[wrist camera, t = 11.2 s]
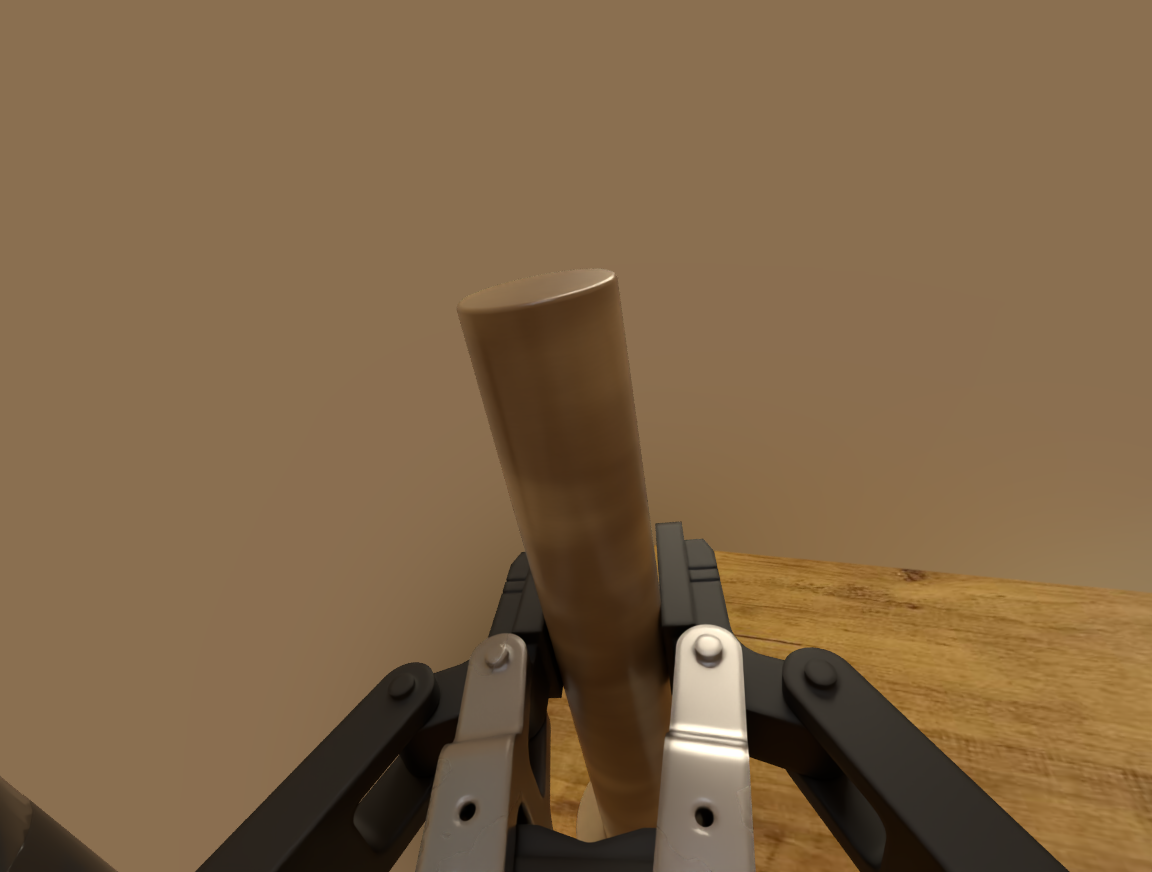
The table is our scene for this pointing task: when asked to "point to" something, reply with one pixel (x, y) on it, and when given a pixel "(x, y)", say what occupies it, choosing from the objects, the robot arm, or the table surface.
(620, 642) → the wooden pestle
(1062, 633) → the table surface
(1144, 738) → the table surface
